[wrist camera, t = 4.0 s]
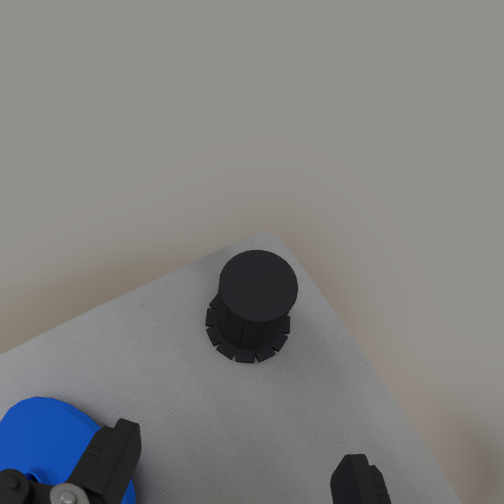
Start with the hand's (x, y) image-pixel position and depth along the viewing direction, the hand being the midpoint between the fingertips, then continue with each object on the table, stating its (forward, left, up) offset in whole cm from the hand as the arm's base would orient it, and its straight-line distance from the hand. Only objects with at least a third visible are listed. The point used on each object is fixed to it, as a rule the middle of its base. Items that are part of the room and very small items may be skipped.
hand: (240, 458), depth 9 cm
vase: (+15, +8, -16) cm, 24 cm away
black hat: (-1, -11, -16) cm, 20 cm away
